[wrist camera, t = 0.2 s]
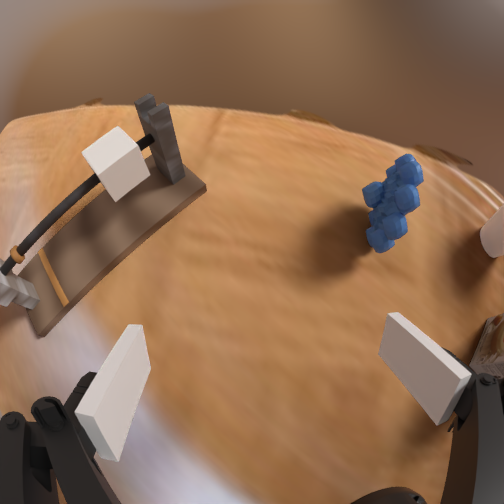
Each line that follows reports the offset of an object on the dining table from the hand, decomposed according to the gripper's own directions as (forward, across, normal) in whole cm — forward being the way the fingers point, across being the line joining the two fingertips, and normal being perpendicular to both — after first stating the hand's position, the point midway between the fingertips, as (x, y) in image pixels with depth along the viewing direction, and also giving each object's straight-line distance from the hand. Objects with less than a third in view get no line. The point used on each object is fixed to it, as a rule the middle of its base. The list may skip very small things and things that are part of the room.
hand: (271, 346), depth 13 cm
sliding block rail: (+22, +19, -2) cm, 29 cm away
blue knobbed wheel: (+22, -16, -4) cm, 28 cm away
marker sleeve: (+19, +14, -10) cm, 26 cm away
